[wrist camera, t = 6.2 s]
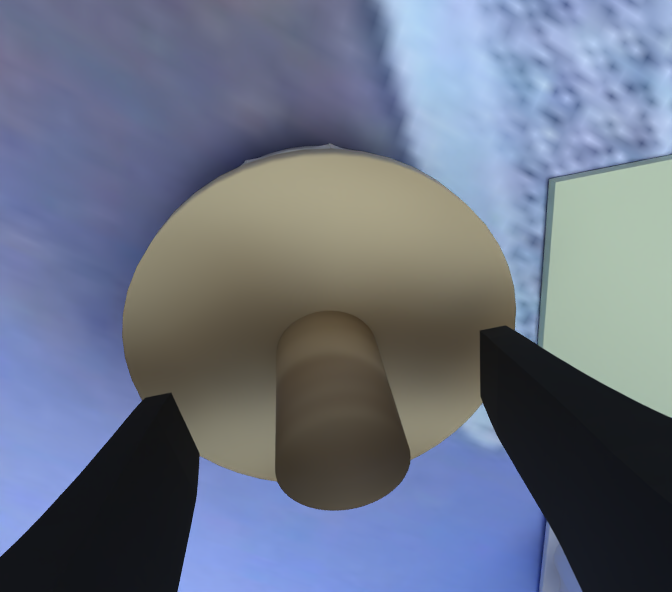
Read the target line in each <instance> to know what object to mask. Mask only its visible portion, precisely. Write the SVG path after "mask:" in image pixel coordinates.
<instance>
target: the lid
mask: <svg viewBox="0 0 672 592" xmlns="http://www.w3.org/2000/svg"><path fill="white" fill-rule="evenodd" d="M515 316H516V303H515V293H514V285H513V282H512V278H511V274H510V270H509V267H508V264H507V262H506V259H505V257H504V255H503V253H502V251H501V248H500V246H499V244H498V243H497V241H496V240H495V238H494V237H493V235H492V234H491V232H490V231H489V229H488V228H487V226H486V225H485V224H484V223H483V222H482V220H481V219H480V218H479V217H478V216H477V215H476V214H475V213H474V212H473V211H472V210H471V209H470V208H469V206H467V205H466V204H465V203H464V202H463V201H462V200H461V199H460V198H459V197H457V196H456V195H455V194H454V193H452V192H451V191H450V190H449V189H447V188H446V187H445V186H444V185H442V184H441V183H440V182H438V181H437V180H435V179H434V178H432V177H430V176H428V175H427V174H425V173H423V172H421V171H420V170H418V169H416V168H414V167H412V166H409V165H407V164H404V163H402V162H399V161H396V160H394V159H391V158H389V157H384V156H380V155H376V154H372V153H367V152H363V151H355V150H345V149H334V148H328V149H304V150H297V151H292V152H286V153H281V154H275V155H271V156H268V157H265V158H262V159H259V160H256V161H253V162H249V163H246V164H244V165H242V166H240V167H238V168H236V169H233V170H231V171H229V172H227V173H225V174H223V175H221V176H219V177H217V178H216V179H214V180H213V181H211V182H210V183H208V184H207V185H206V186H204V187H203V188H201V189H200V190H198V191H197V192H195V193H194V194H193V195H192V196H191V197H190V198H188V199H187V200H186V201H185V202H184V203H183V204H182V205H181V206H180V207H179V208H177V209H176V210H175V211H174V213H173V214H172V215H171V216H170V217H169V219H168V220H167V221H166V222H165V224H164V225H163V226H162V227H161V228H160V230H159V231H158V233H157V234H156V236H155V237H154V239H153V240H152V242H151V244H150V245H149V247H148V249H147V250H146V252H145V254H144V255H143V257H142V259H141V261H140V262H139V264H138V266H137V268H136V270H135V273H134V275H133V278H132V281H131V283H130V286H129V288H128V292H127V297H126V301H125V306H124V311H123V330H122V338H123V346H124V353H125V359H126V363H127V366H128V369H129V372H130V376H131V379H132V381H133V383H134V385H135V387H136V389H137V391H138V393H139V395H140V397H141V399H142V401H143V399H144V398H146V397H151V396H156V395H161V394H166V393H172V395H173V397H174V399H175V402H176V404H177V406H178V408H179V410H180V412H181V414H182V417H183V419H184V421H185V423H186V425H187V427H188V429H189V432H190V434H191V436H192V438H193V440H194V442H195V445H196V447H197V449H198V451H199V453H200V456H201V457H203V458H205V459H207V460H209V461H211V462H213V463H215V464H217V465H219V466H222V467H224V468H227V469H230V470H232V471H235V472H237V473H241V474H244V475H248V476H252V477H255V478H259V479H265V480H271V481H277V482H278V484H279V486H280V487H281V489H282V490H283V491H284V492H285V493H286V494H287V495H288V496H289V497H290V498H292V499H293V500H295V501H296V502H298V503H300V504H302V505H305V506H308V507H311V508H315V509H321V510H348V509H353V508H358V507H362V506H365V505H368V504H370V503H373V502H375V501H377V500H379V499H381V498H383V497H384V496H386V495H387V494H389V493H390V492H391V491H393V490H394V489H395V488H396V487H397V486H398V485H399V484H400V482H401V481H402V480H403V478H404V477H405V475H406V473H407V471H408V469H409V465H410V460H411V459H413V458H416V457H418V456H420V455H421V454H423V453H425V452H426V451H428V450H430V449H431V448H433V447H435V446H436V445H438V444H439V443H441V442H442V441H443V440H445V439H446V438H447V437H449V436H450V435H451V434H453V433H454V432H455V431H456V430H457V429H458V428H459V427H460V426H462V425H463V424H464V423H465V422H466V421H467V420H468V419H469V418H470V417H471V416H472V415H473V414H474V412H475V411H476V410H477V409H478V408H479V407H480V405H481V404H482V403H483V402H482V400H481V397H480V330H485V329H490V328H495V327H500V326H505V325H506V326H508V327H509V328H511V329H513V330H515Z"/></svg>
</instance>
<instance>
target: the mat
mask: <svg viewBox="0 0 672 592" xmlns="http://www.w3.org/2000/svg"><path fill="white" fill-rule="evenodd" d="M538 345H539V346H540V347H542V348H543V349H545V350H547V351H548V352H550V353H551V354H553V355H555V356H556V357H558V358H560V359H561V360H563V361H565V362H566V363H568V364H570V365H571V366H573V367H575V368H576V369H578V370H580V371H581V372H583V373H585V374H587V375H588V376H590V377H592V378H594V379H596V380H597V381H599V382H601V383H603V384H605V385H606V386H608V387H610V388H612V389H614V390H616V391H618V392H620V393H622V394H624V395H625V396H627V397H629V398H631V399H633V400H635V401H637V402H639V403H641V404H643V405H645V406H647V407H649V408H651V409H653V410H655V411H657V412H660V413H662V414H664V415H666V416H669V417H672V155H668V156H662V157H657V158H652V159H647V160H642V161H637V162H632V163H627V164H622V165H617V166H612V167H607V168H602V169H597V170H592V171H587V172H582V173H577V174H572V175H567V176H562V177H557V178H552V179H549V190H548V204H547V218H546V233H545V247H544V261H543V276H542V290H541V305H540V319H539V333H538Z"/></svg>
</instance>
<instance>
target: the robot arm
mask: <svg viewBox="0 0 672 592" xmlns="http://www.w3.org/2000/svg"><path fill="white" fill-rule="evenodd" d="M480 397H481V400H482V402H483V404H484V407H485V409H486V411H487V414H488V416H489V419H490V421H491V423H492V425H493V428H494V430H495V432H496V434H497V436H498V438H499V440H500V442H501V443H502V445H503V447H504V448H505V450H506V452H507V454H508V455H509V457H510V459H511V460H512V462H513V464H514V466H515V467H516V469H517V471H518V472H519V474H520V476H521V477H522V479H523V481H524V483H525V484H526V486H527V488H528V489H529V491H530V493H531V494H532V496H533V498H534V499H535V501H536V503H537V505H538V506H539V508H540V510H541V511H542V513H543V515H544V516H545V518H546V520H547V522H546V531H545V541H544V550H543V559H542V568H541V578H540V587H539V592H672V418H671V417H669V416H666V415H664V414H662V413H660V412H657V411H655V410H653V409H651V408H649V407H647V406H645V405H643V404H641V403H639V402H637V401H635V400H633V399H631V398H629V397H627V396H625V395H624V394H622V393H620V392H618V391H616V390H614V389H612V388H610V387H608V386H606V385H605V384H603V383H601V382H599V381H597V380H596V379H594V378H592V377H590V376H588V375H587V374H585V373H583V372H581V371H580V370H578V369H576V368H575V367H573V366H571V365H570V364H568V363H566V362H565V361H563V360H561V359H560V358H558V357H556V356H555V355H553V354H551V353H550V352H548V351H547V350H545V349H543V348H542V347H540V346H539V345H537V344H535V343H534V342H532V341H531V340H529V339H527V338H526V337H524V336H523V335H521V334H519V333H518V332H516V331H515V330H513V329H511V328H509V327H508V326H506V325H505V326H500V327H495V328H490V329H485V330H480ZM199 456H200V453H199V451H198V449H197V447H196V445H195V442H194V440H193V438H192V436H191V434H190V432H189V429H188V427H187V425H186V423H185V421H184V419H183V417H182V414H181V412H180V410H179V408H178V406H177V404H176V402H175V399H174V397H173V395H172V393H166V394H161V395H156V396H151V397H146V398H144V399H143V401H142V402H141V403H140V404H139V405H138V406H137V407H136V408H135V409H134V411H133V412H132V413H131V414H130V415H129V417H128V418H127V419H126V420H125V421H124V423H123V424H122V425H121V426H120V427H119V429H118V430H117V431H116V432H115V433H114V435H113V436H112V437H111V438H110V439H109V441H108V442H107V443H106V444H105V445H104V446H103V448H102V449H101V450H100V451H99V452H98V453H97V455H96V456H95V457H94V458H93V459H92V461H91V462H90V463H89V464H88V465H87V466H86V468H85V469H84V470H83V471H82V472H81V473H80V475H79V476H78V477H77V478H76V479H75V480H74V481H73V482H72V483H71V484H70V486H69V487H68V488H67V489H66V490H65V491H64V492H63V493H62V494H61V495H60V496H59V498H58V499H57V500H56V501H55V502H54V503H53V504H52V505H51V506H50V507H49V508H48V510H47V511H46V512H45V513H44V514H43V515H42V516H41V517H40V518H39V519H38V520H37V521H36V522H35V523H34V524H33V525H32V526H31V527H30V529H29V530H28V531H27V532H26V533H25V534H24V535H23V536H22V537H21V538H20V539H19V540H18V541H17V542H16V543H14V544H13V545H12V546H11V547H10V548H9V549H8V550H7V551H6V552H5V553H4V554H3V555H2V556H1V557H0V592H177V591H178V586H179V581H180V576H181V572H182V567H183V562H184V557H185V552H186V547H187V542H188V538H189V533H190V528H191V523H192V518H193V512H194V507H195V502H196V497H197V486H198V473H199Z"/></svg>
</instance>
